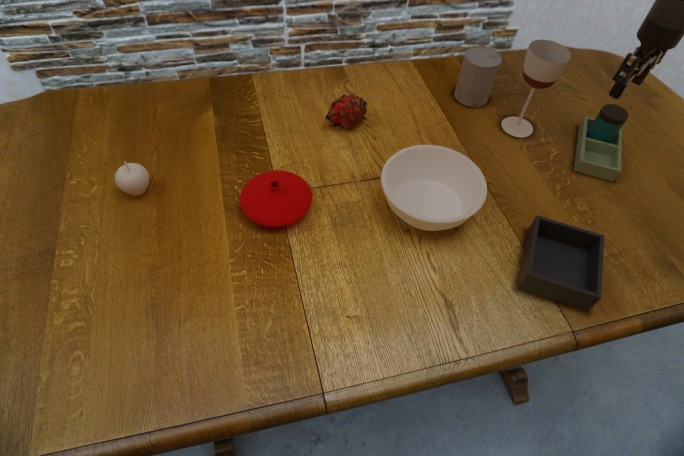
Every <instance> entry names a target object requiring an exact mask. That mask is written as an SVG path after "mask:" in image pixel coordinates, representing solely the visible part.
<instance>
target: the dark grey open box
mask: <svg viewBox="0 0 684 456" xmlns="http://www.w3.org/2000/svg"><path fill="white" fill-rule="evenodd" d="M531 222H532V223H531V224H530V226H529V227H528V229H527V231H526V236H525V240H524V241H525V242H524V247H523V252H522V258H521V262H520V268H519V274H518V279H517V285H516V290H520V291H522V292H524V293H525V292H526V293H529V294H531V295H535V296H538V297H540V298H544V299H547V300H550V301H552V302H556V303H559V304H562V305H564V306H567V307H571V308H573V309H577V310H579V311H582V312H585V313H588V312H589V311H590V310H591V309H592V308H593V307H594V306H596V304H597V303H598V302H599V301H600V300H601V299H602V288H603V287H602V286H603V269H604V268H603V267H604V248H605V235H604V234H601V233H598V232H595V231H591V230H588V229H585V228H581V227H579V226H574V225H571V224H568V223H564V222H561V221H558V220H554V219H552V218H548V217H545V216H542V215H537V214H536V215H535V217H534V218H533V220H532V221H531Z"/></svg>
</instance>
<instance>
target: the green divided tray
mask: <svg viewBox="0 0 684 456" xmlns="http://www.w3.org/2000/svg"><path fill="white" fill-rule="evenodd" d="M595 118H596V117H595ZM595 118H594V117H592V116H591V117H590V116H586V115H585V116H584V117H583V118H582V120H581V122H580V124H579V126H578V130H577V131H578V132H577V138H576V139H577V140H576V149H575V156H574V157H575V158H574V165H573V171H574V172H577V173H580V174H584V175H587V176H590V177H591V176H592V177H595V178H598V179H602V180H605V181H606V180H607V181H610V182H615V181H616V179H617V178H618V177H619V175H620V174H621V172H622V149H623V148H622V145H623V126H622V127H621V129H620V130H619V132H618V133H617V135H616V136H615V138H614V139H613V141H612V142H611V144H610V143H606V142H602V141H599V140H595V139H591V138H587V137H586V134H587V132H588V130H589V129H590V127H591V125H592V123H593V122H594V120H595Z"/></svg>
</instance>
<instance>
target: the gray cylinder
mask: <svg viewBox="0 0 684 456" xmlns="http://www.w3.org/2000/svg"><path fill="white" fill-rule="evenodd" d="M502 61H503V58H502V55H501V54H500V53H499V52H498V50H495V49H494V48H491V47H489V46H483V45H476V46H470V47H469V48H466V50H465V52H464V56H463V59H462V63H461V68H460V71H459V75H458V78H457V82H456V86H455V89H454V92H453V95H454V98H455V100H456V101H457V102H459V103H460V104H462V105H464V106H467V107H471V108H472V107H473V108H477V107H482V106H485V105H486V104H487V103H488V101H489V98H490V95H491V92H492V89H493V85H494V84H495V80H496V77H497V75H498V72H499V68H500V66H501V63H502Z"/></svg>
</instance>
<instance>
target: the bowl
mask: <svg viewBox="0 0 684 456" xmlns="http://www.w3.org/2000/svg"><path fill="white" fill-rule="evenodd" d="M380 183H381V188H382V191H383V194H384V196H385V199H386V202H387V204H388V206H389V208H390V209H391V211H392V212H393V213H394V214H395V215H396V216H397V217H398V218H400V219H401V220H402V221H403V222H404V223H406V224H408V226H411V227H413V228H414V229H417V230H421V231H425V232H438V231H439V232H440V231H444V230H450V229H454V228H456V227H459V226H460V225H462V224H464V223H465V222H467V221H468V220H470V218H472V217H473V216H474V215H476V214H477V213H478V212H479V211H480V209H482V207H483V206H484V204H485V202H486V201H487V195H488V184H487V180H486V177H485V175H484V173H483V172H482V170H481V169H480V168H479V166H478V165H477V164H476V162H474V161H472V160H471V159H470V158H469V157H468V156H466V155H465V154H463V153H462V152H459V151H457V150H455V149H452V148H449V147H445V146H442V145H436V144H418V145H411V146H408V147H404V148H402V149H400V150H398V151H396V152H395V153H394V154H392V155H391V156H390V157H389V158H388V159H387V160H386V162H385V163H384V165H383V167H382V169H381V174H380Z"/></svg>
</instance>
